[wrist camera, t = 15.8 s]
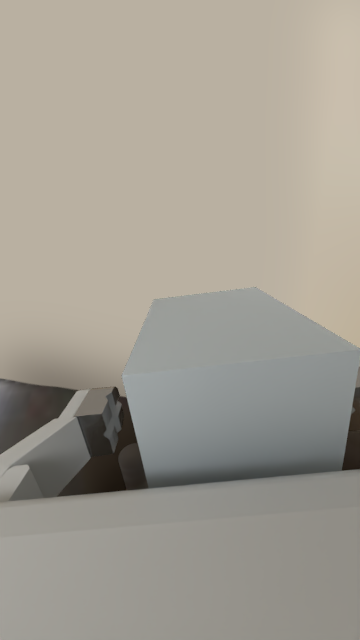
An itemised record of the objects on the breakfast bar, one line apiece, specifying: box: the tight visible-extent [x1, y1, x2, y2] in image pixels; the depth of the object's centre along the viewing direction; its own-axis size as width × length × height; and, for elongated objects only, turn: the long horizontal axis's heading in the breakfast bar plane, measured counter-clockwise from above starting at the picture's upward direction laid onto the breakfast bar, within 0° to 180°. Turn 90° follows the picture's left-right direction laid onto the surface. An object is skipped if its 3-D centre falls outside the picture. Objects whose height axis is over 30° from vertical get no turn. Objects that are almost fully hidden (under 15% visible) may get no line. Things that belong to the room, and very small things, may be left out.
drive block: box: [122, 287, 360, 488], centre depth 9 cm, size 4×6×12 cm
